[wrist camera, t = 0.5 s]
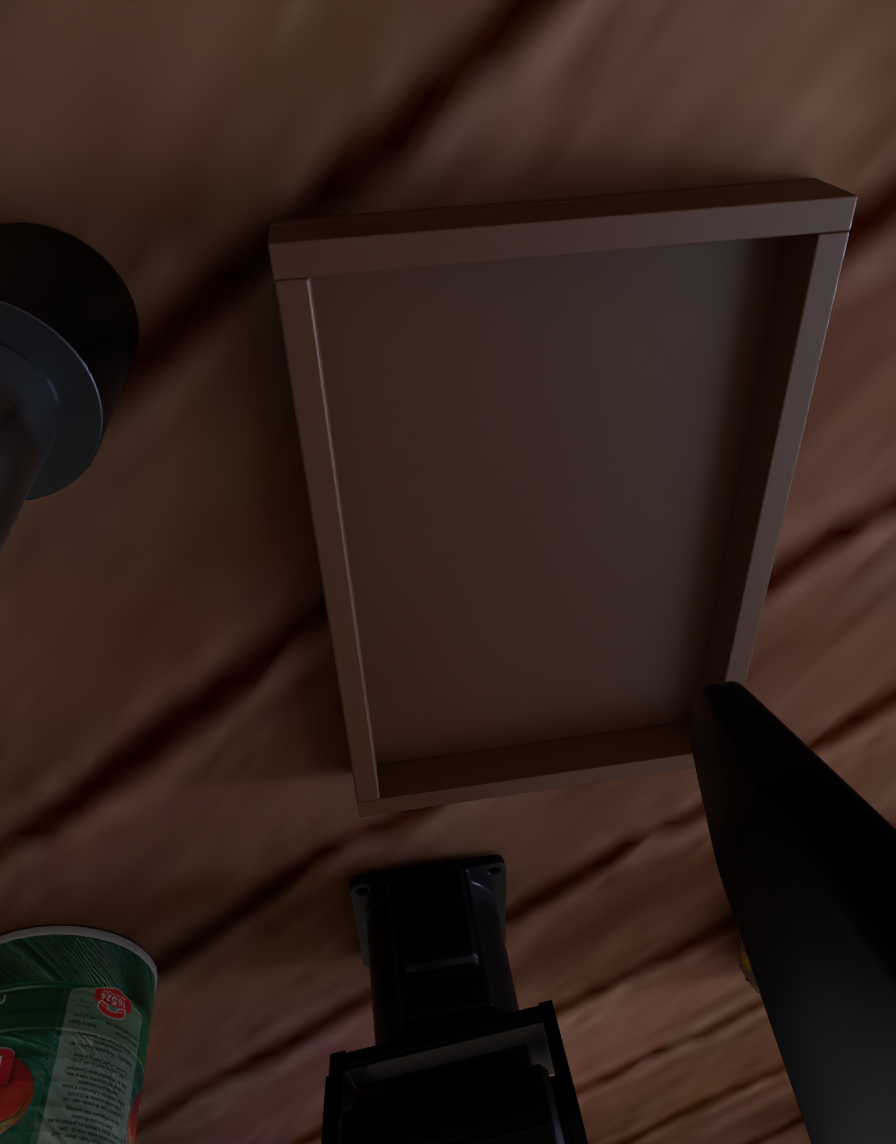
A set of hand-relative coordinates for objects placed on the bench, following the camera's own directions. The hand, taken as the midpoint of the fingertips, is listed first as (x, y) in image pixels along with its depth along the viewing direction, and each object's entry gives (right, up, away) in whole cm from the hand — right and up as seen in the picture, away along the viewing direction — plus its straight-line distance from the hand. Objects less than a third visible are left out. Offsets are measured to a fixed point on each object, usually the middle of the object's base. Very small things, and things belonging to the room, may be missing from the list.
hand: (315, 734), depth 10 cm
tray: (+4, +3, +17) cm, 17 cm away
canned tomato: (-15, -15, +27) cm, 34 cm away
